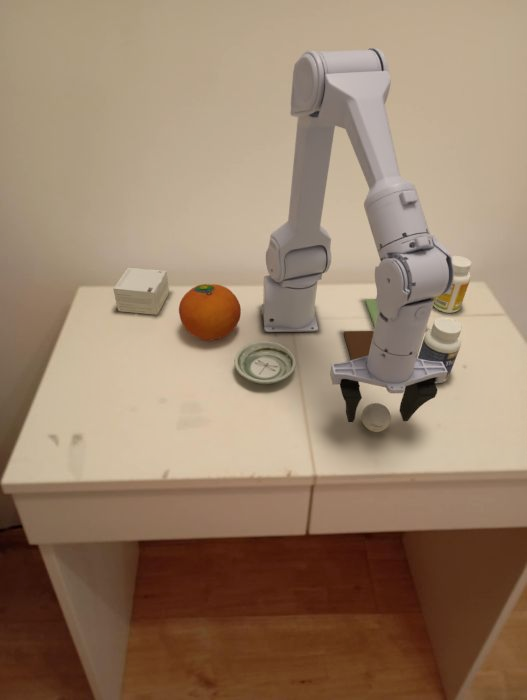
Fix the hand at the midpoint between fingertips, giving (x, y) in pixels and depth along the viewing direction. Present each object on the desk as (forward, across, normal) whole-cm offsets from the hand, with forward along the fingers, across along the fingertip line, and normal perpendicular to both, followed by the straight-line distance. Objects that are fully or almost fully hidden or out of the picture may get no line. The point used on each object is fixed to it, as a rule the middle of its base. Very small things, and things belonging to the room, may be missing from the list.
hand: (376, 416), depth 66 cm
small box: (+2, -37, +32) cm, 49 cm away
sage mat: (+2, +10, +27) cm, 29 cm away
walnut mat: (+2, +4, +17) cm, 18 cm away
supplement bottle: (+2, +21, +30) cm, 37 cm away
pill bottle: (+2, +12, +11) cm, 17 cm away
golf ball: (+2, 0, 0) cm, 2 cm away
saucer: (+2, -15, +12) cm, 19 cm away
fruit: (+2, -24, +23) cm, 33 cm away
